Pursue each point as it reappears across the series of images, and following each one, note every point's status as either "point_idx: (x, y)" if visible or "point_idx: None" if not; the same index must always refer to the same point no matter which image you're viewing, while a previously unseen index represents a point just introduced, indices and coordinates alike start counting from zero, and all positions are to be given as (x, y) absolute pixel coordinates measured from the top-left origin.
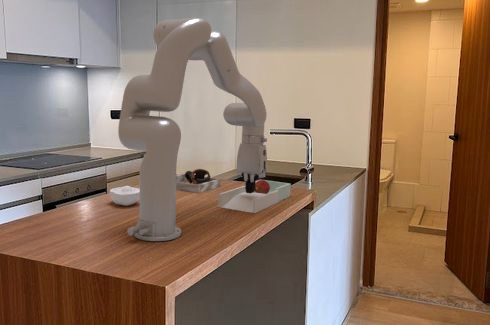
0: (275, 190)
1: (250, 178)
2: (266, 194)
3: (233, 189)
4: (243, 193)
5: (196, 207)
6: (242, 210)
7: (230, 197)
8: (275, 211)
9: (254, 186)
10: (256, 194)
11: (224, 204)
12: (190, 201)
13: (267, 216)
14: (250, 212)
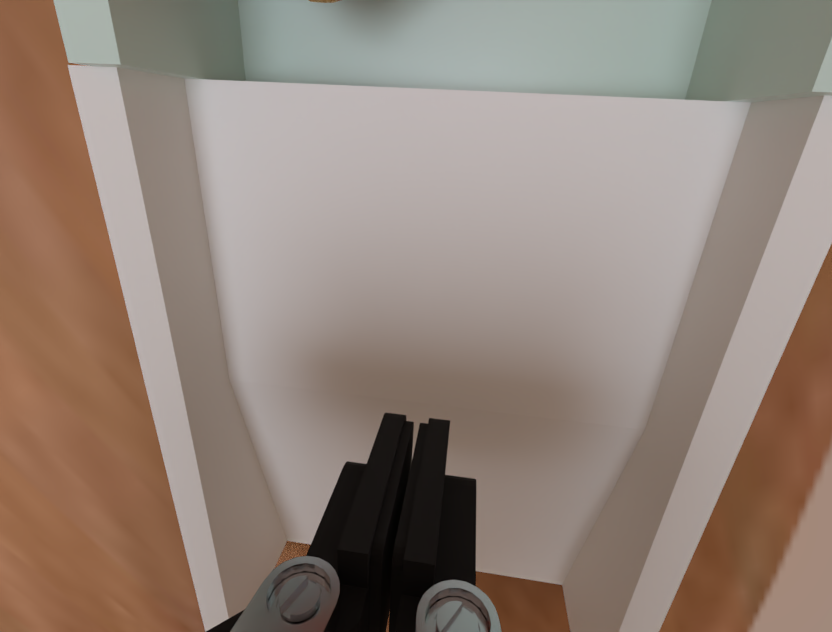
0: (813, 138)
1: (332, 626)
2: (684, 509)
3: (169, 438)
4: (248, 261)
5: (173, 590)
6: None
7: (246, 468)
8: (755, 490)
9: (474, 540)
10: (422, 216)
11: (279, 516)
12: (23, 486)
13: (706, 625)
14: (545, 580)
